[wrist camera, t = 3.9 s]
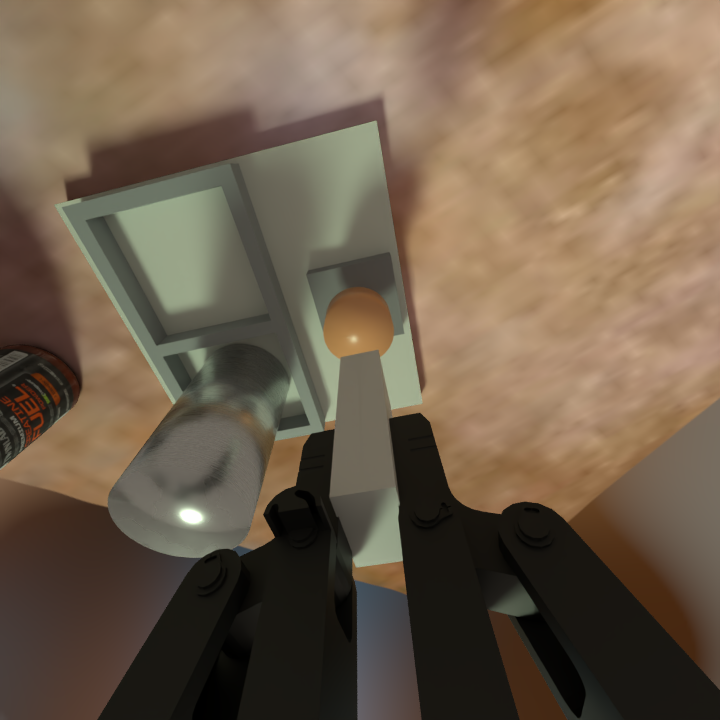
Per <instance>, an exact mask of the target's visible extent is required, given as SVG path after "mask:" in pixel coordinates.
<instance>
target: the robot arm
mask: <svg viewBox="0 0 720 720" xmlns="http://www.w3.org/2000/svg"><path fill="white" fill-rule="evenodd" d="M263 515H264V517H265V519H266V521H267V523H268V525H269V527H270V528H271V530H272V532H273V534H274V536H275V538H274V539H273V540H272V541H270V542H268V543H267V544H265V545H263V546H261V547H259V548H257V549H255V550H253V551H251V552H249V553H246V554H244V555H242V556H240V557H239V556H238V554H237V553H236V551H233V550H230V549H228V548H227V549H218V550H215V551H213V552H211V553H209V554H207V555H205V556H204V557H203V558H201V559H200V560H199V561H198V562H197V563H196V564H195V565H194V566H193V567H192V568H191V570H190V571H189V572H188V573H187V575H186V577H185V578H184V580H183V582H182V583H181V585H180V586H179V588H178V589H177V591H176V593H175V594H174V596H173V598H172V599H171V601H170V602H169V604H168V606H167V607H166V609H165V611H164V612H163V614H162V616H161V617H160V619H159V620H158V622H157V624H156V625H155V627H154V629H153V630H152V632H151V633H150V635H149V637H148V638H147V640H146V642H145V643H144V645H143V646H142V648H141V650H140V651H139V653H138V654H137V656H136V658H135V659H134V661H133V663H132V664H131V666H130V668H129V669H128V671H127V672H126V674H125V676H124V677H123V679H122V680H121V682H120V684H119V685H118V687H117V689H116V690H115V692H114V694H113V695H112V697H111V699H110V700H109V702H108V703H107V705H106V707H105V708H104V710H103V711H102V713H101V715H100V716H99V718H98V720H357V591H356V586H355V581H354V579H353V576H352V558H353V560H354V563H355V565H356V567H363V566H370V565H377V564H384V563H392V562H399V561H403V565H404V573H405V582H406V590H407V599H408V607H409V616H410V624H411V633H412V641H413V649H414V658H415V667H416V675H417V684H418V692H419V700H420V709H421V717H422V720H519V717H518V713H517V709H516V706H515V703H514V699H513V696H512V692H511V689H510V686H509V682H508V679H507V675H506V672H505V668H504V665H503V662H502V658H501V655H500V652H499V648H498V645H497V641H496V638H495V635H494V631H493V628H492V624H491V621H490V618H489V614H488V611H487V609H489V610H493V611H497V612H501V613H505V614H507V615H508V617H509V618H510V620H511V622H512V624H513V625H514V627H515V629H516V630H517V632H518V634H519V636H520V638H521V639H522V641H523V642H524V645H525V646H526V648H527V650H528V651H529V653H530V655H531V657H532V658H533V660H534V662H535V664H536V665H537V667H538V669H539V671H540V672H541V674H542V676H543V677H544V679H545V681H546V683H547V685H548V686H549V688H550V690H551V692H552V693H553V695H554V697H555V698H556V700H557V702H558V704H559V706H560V707H561V709H562V711H563V712H564V714H565V716H566V717H567V719H568V720H720V690H719V689H718V688H717V687H716V685H715V684H714V683H713V682H712V681H711V680H710V679H709V678H708V677H707V676H706V675H705V674H704V672H703V671H702V670H701V669H700V668H699V667H698V666H697V665H696V664H695V663H694V661H693V660H692V659H691V658H690V657H689V656H688V655H687V654H686V653H685V651H684V650H683V649H682V648H681V647H680V646H679V645H678V644H677V643H676V642H675V641H674V639H673V638H672V637H671V636H670V635H669V634H668V633H667V632H666V631H665V630H664V629H663V627H662V626H661V625H660V624H659V623H658V622H657V621H656V620H655V619H654V618H653V617H652V615H651V614H650V613H649V612H648V611H647V610H646V609H645V608H644V607H643V606H642V604H641V603H640V602H639V601H638V600H637V599H636V598H635V597H634V596H633V594H632V593H631V592H630V591H629V590H628V589H627V588H626V587H625V586H624V585H623V584H622V582H621V581H620V580H619V579H618V578H617V577H616V576H615V575H614V574H613V573H612V571H611V570H610V569H609V568H608V567H607V566H606V565H605V564H604V563H603V562H602V561H601V559H600V558H599V557H598V556H597V555H596V554H595V553H594V552H593V551H592V550H591V548H590V547H589V546H588V545H587V544H586V543H585V542H584V541H583V540H582V539H581V537H580V536H579V535H578V534H577V533H576V532H575V531H574V530H573V529H572V528H571V526H570V525H569V524H568V523H567V522H566V521H565V520H564V519H563V518H562V517H561V516H560V515H558V514H557V513H556V512H555V511H553V510H552V509H550V508H548V507H546V506H543V505H541V504H539V503H531V502H521V503H515V504H512V505H510V506H509V507H507V508H506V509H504V510H503V512H502V514H495V513H488V512H482V511H478V510H474V509H471V508H469V507H467V506H465V505H463V504H462V503H460V502H459V501H458V500H456V498H455V497H454V496H453V495H452V493H451V491H450V489H449V487H448V483H447V480H446V476H445V473H444V470H443V466H442V463H441V459H440V456H439V452H438V449H437V446H436V442H435V439H434V436H433V432H432V428H431V425H430V422H429V421H428V420H427V419H426V418H425V417H424V416H423V415H422V414H421V413H416V414H411V415H405V416H400V417H394V418H392V411H391V405H390V400H389V396H388V391H387V387H386V382H385V377H384V373H383V368H382V364H381V359H380V354H379V350H374V351H369V352H364V353H359V354H354V355H349V356H344V357H340V370H339V383H338V395H337V408H336V420H335V429H333V430H328V431H322V432H316V433H312V434H311V435H310V437H309V438H308V440H307V441H306V443H305V444H304V446H303V450H302V456H301V461H300V467H299V472H298V477H297V483H296V486H294V487H291V488H288V489H285V490H284V491H282V492H281V493H279V494H278V495H276V496H275V497H274V498H273V499H272V501H271V502H270V503H269V504H268V505H267V507H266V510H265V512H264V514H263Z"/></svg>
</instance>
